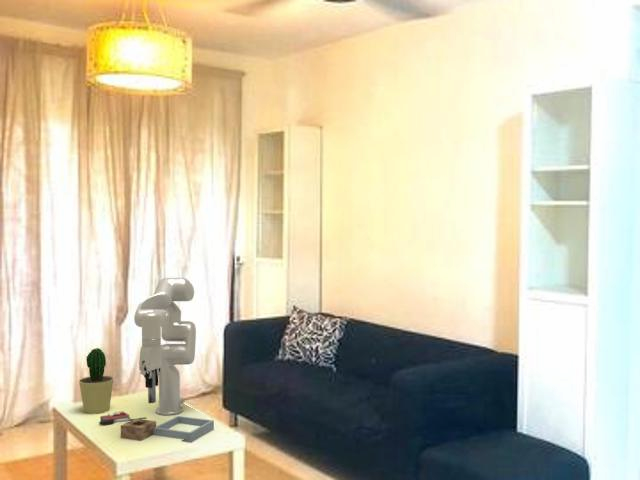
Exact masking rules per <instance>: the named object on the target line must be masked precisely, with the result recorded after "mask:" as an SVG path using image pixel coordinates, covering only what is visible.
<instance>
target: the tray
mask: <svg viewBox="0 0 640 480" xmlns="http://www.w3.org/2000/svg"><path fill="white" fill-rule="evenodd" d="M179 424H181V425H189V426H198V427H197V428H194V429H193V430H191V431H185V430H178V429H177V430H176V429H170V428H173V427H174V426H176V425H179ZM214 429H215V420H213V419H205V418H197V417H189V416H182V415H178V416H175V417H173V418H171V419H169V420H167V421H165V422H163V423H160V424H159V425H156V427H154V428H153V435H152V436H160V437H166V438H172V439H173V438H175V439H180V440H181V442H183V443H184V442H185V443H193V442H194V441H196V440H197V439H199V438H201V437H202V436H204V435H207V434H208V433H210V432H212V431H214Z"/></svg>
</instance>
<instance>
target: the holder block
mask: <svg viewBox="0 0 640 480" xmlns="http://www.w3.org/2000/svg"><path fill="white" fill-rule="evenodd" d="M133 419H134V420H132V421H127V422H126V423H125V422H124V423H123V424H121V425H120V439H125V440H132V441H138V442H141V441H144V440H146V439H148V438H149V437H152V436H154V435H153V428H154V427H156V426H157V421H156V420H148V419H136V418H133Z"/></svg>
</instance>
